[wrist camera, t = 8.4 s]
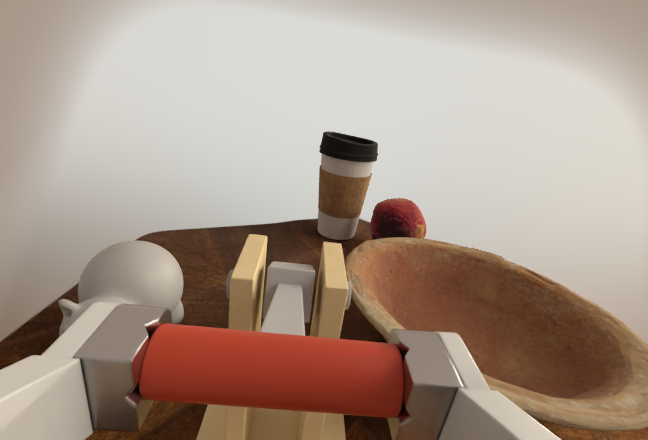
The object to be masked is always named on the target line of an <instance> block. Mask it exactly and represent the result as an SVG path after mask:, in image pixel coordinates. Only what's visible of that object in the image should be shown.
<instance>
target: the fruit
mask: <svg viewBox="0 0 648 440" xmlns="http://www.w3.org/2000/svg"><path fill="white" fill-rule="evenodd" d="M370 226H371V232H370V234H371V235H372V238H373V239H374V240H376V239H381V238H391V237H409V238H422V239H424V237H425V234H426V224H425V220H424V218H423V216H422V213H421V212H420V210H419V208H418V207H417V206H416V204H415V203H413V202H412V201H410V200H407V199H400V198H398V199H387V200H385V201H382V202H380V203H378V204H377V205H376V206H375V209H374V211H373V216H372V219H371V223H370Z"/></svg>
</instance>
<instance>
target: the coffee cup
mask: <svg viewBox="0 0 648 440" xmlns="http://www.w3.org/2000/svg"><path fill="white" fill-rule="evenodd" d="M377 147H378V144H377V143H376V142H374V141H371V140H368V139H364V138H359V137H354V136H350V135H345V134H340V133H335V132H324V133H323V138H322V142H321V145H320V153H322V160H321V166H320V177H319V206H318V208H319V212H318V232H319V233H320V234H321V235H323V236H325V237H327V238H330V239H335V240H347V239H351V238H352V237H354V235H355V231H356V227H357V223H358V220H359V216H360V213H361V209H362V206H363V203H364V199H365V196H366V192H367V189H368V185H369V181H370V178H371V175H372V174H371V170H372V166H373V162H374V161H376V160H377V155H378V153H377Z"/></svg>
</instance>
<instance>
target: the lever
mask: <svg viewBox="0 0 648 440" xmlns="http://www.w3.org/2000/svg"><path fill="white" fill-rule="evenodd" d="M314 281H315V270H314V268H313V266H312V265H304V264H294V263H285V262H275V261H274V262H272V263H271V264H270V266H269V267H268V271H267V279H266V288H265V297H264V305H263V314H262V318H264V321H263V324H262V326H261V329H260V331H259V332H257V331H246V330H235V329H224V328H212V327H201V326H190V325H179V324H167V323H166V324H162V325H161V326H159V327H158V328H157V329H156V330H155V332H154V333H153V335H152V337H151V339H150V341H149V345H148V347H147V350H146V353H145V357H144V360H143V365H142V370H141V377H140V381H139V390H140V394H141V396H142V397H143V398H144V399H146V400H154V401H167V402H181V403H195V404H208V405H222V406H235V407H249V408H263V409H276V410H290V411H303V412H317V413H331V414H344V415H358V416H371V417H385V418H394V417H397V416H398V415H399V413H400V411H401V408H402V404H403V395H404V371H403V361H402V357H401V353H400V351H399V349H398V347H397V346H396V345H394V344H392V343H381V342H370V341H358V340H347V339H336V338H325V337H314V336H305V326H304V322H306V323H309V322H310V317H311V308H312V299H313V290H314Z"/></svg>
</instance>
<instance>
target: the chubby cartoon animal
mask: <svg viewBox="0 0 648 440" xmlns="http://www.w3.org/2000/svg"><path fill="white" fill-rule="evenodd" d="M182 292H183V275H182V271H181V268H180V266H179V264H178V262H177V261H176V259H175V258H174V257H173V256H172V255H171V254H170V253H169V252H168V251H167V250H165V249H164V248H162V247H160V246H158V245H156V244H153V243H150V242H145V241H126V242H121V243H118V244H115V245H112V246H110V247H108V248H106V249H104V250H102V251H101V252H100V253H98V254H97V255H96V256H95V257H94V258H93V259H92V260H91V261H90V262H89V263H88V264H87V266H86V267H85V269H84V271H83V273H82V275H81V277H80V281H79V285H78V299H79V304H75V303H73V302H71V301H69V300H66V299H61V300H59V301H58V304H59V307H60V309H61V310H62V313H63V321H62V323H61V326H60V330H59V336H61V335H62V334H63V333H64V332H65V331H66V330H67V329H68V328H69V327H70V326H71V325H72V324H73V323H74V322H75V321H76V320H77V318H78V317H79V316H80V315H81V314H82V313H83V312H84V311H85V310H86V309H87V308H88V307H89V306H90V305H91V304H93V303H96V302H98V301H102V302H112V303H120V304H123V303H124V304H133V305H142V306H151V307H160V308H168V309H169V310H170V311H171V316H172V324H178V323H179V322H180V321H181V320H182V319H183V316H184V309H183V305H182V302H181V300H180V299H181V296H182Z"/></svg>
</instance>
